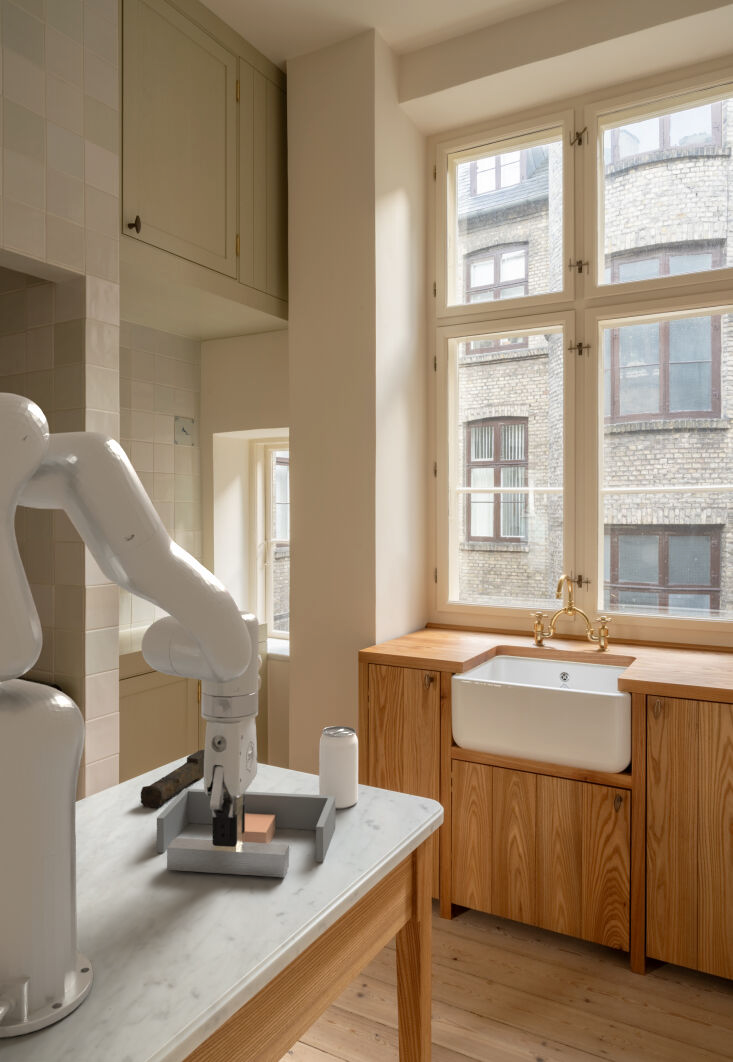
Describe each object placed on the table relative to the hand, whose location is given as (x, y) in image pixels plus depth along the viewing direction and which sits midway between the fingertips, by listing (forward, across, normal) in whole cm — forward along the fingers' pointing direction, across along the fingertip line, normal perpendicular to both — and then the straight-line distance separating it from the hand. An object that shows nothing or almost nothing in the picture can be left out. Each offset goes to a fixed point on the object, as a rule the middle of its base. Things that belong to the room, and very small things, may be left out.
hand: (228, 837), depth 100 cm
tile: (+5, +10, 0) cm, 11 cm away
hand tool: (+5, +28, +17) cm, 33 cm away
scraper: (+4, 0, 0) cm, 4 cm away
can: (+5, +25, -12) cm, 28 cm away
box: (+5, +9, 0) cm, 10 cm away
